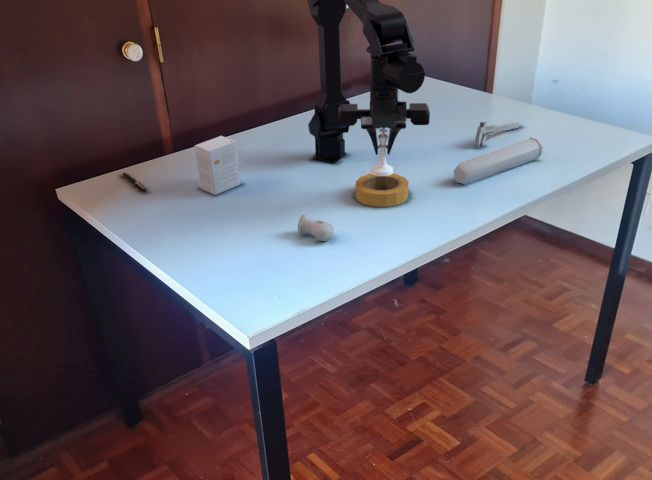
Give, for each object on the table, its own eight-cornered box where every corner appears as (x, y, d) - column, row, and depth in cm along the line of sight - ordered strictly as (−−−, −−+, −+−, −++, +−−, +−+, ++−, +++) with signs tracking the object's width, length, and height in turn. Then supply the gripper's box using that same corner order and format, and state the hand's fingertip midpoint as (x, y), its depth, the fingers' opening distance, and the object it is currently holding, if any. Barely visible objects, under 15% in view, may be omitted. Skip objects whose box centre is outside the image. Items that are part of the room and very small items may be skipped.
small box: (226, 178, 169) (221, 134, 162) (241, 184, 165) (237, 140, 159) (199, 188, 164) (193, 144, 158) (214, 195, 161) (208, 151, 155)
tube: (468, 173, 157) (546, 145, 167) (453, 159, 159) (530, 132, 170) (461, 192, 161) (537, 164, 171) (446, 178, 163) (522, 151, 174)
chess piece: (386, 178, 152) (388, 132, 146) (366, 173, 154) (367, 128, 148) (397, 169, 155) (399, 124, 149) (377, 165, 158) (378, 121, 151)
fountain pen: (119, 175, 172) (118, 169, 171) (124, 173, 173) (123, 167, 172) (144, 194, 163) (143, 188, 162) (149, 193, 163) (147, 187, 162)
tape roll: (347, 201, 156) (346, 188, 155) (369, 181, 164) (369, 169, 163) (395, 211, 152) (395, 198, 150) (415, 190, 160) (416, 177, 158)
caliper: (478, 148, 178) (481, 124, 174) (474, 147, 179) (477, 123, 175) (520, 126, 190) (524, 103, 186) (517, 125, 190) (520, 102, 187)
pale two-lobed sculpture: (337, 244, 143) (321, 246, 140) (308, 231, 148) (292, 233, 144) (342, 223, 142) (325, 225, 138) (312, 211, 146) (296, 212, 142)
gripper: (336, 92, 137) (337, 169, 147) (433, 91, 136) (428, 168, 145) (338, 75, 146) (339, 148, 155) (429, 74, 145) (425, 148, 154)
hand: (382, 154), depth 152 cm, fingers closed on chess piece, 2 cm apart
